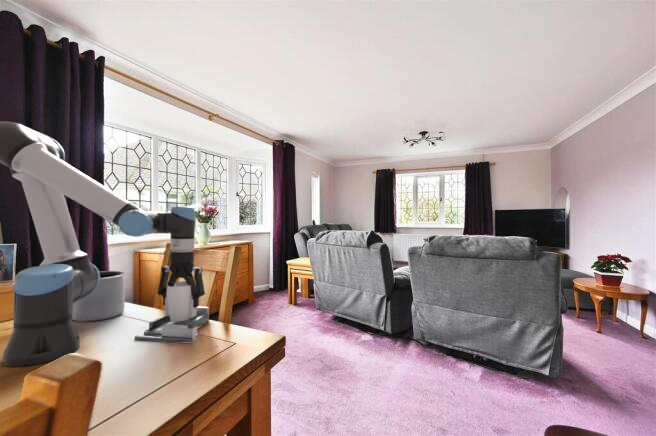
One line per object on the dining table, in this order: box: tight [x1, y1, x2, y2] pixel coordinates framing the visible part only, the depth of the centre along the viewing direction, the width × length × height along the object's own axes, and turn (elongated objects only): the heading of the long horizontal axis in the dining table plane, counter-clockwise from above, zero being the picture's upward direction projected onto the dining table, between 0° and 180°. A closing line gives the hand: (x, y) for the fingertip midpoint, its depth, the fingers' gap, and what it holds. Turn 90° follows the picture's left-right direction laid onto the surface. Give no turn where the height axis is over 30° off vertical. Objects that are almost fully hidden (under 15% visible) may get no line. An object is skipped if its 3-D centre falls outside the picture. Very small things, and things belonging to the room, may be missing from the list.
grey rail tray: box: [145, 306, 210, 332], centre depth 103 cm, size 14×14×5 cm
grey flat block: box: [161, 322, 198, 342], centre depth 93 cm, size 10×2×5 cm, turn 84°
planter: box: [72, 270, 126, 323], centre depth 112 cm, size 16×16×16 cm
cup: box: [166, 280, 193, 322], centre depth 103 cm, size 9×9×12 cm
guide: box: [134, 330, 200, 343], centre depth 93 cm, size 18×5×1 cm, turn 84°
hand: (180, 315), depth 103 cm, fingers closed on cup, 8 cm apart
